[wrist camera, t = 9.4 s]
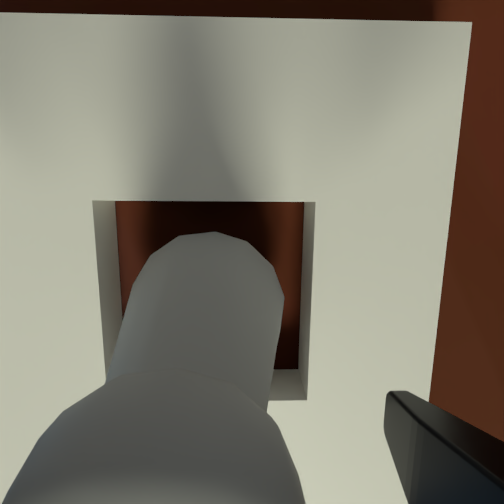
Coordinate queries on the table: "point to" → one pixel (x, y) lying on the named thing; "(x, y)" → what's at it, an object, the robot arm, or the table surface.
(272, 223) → the table surface
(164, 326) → the salt shaker
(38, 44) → the socket board
